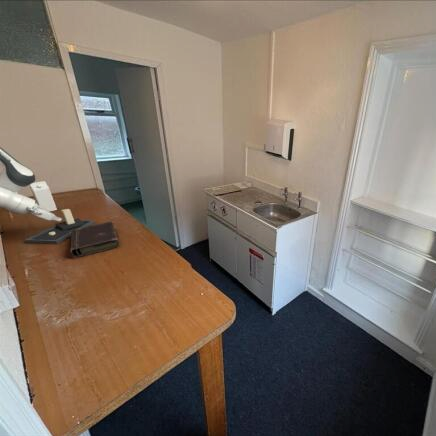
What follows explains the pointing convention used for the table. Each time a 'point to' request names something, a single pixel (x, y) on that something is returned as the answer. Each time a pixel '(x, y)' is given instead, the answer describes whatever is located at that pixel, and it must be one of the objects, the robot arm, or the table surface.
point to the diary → (93, 239)
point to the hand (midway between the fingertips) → (57, 217)
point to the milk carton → (43, 195)
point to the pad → (53, 234)
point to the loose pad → (64, 226)
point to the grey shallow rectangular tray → (32, 240)
